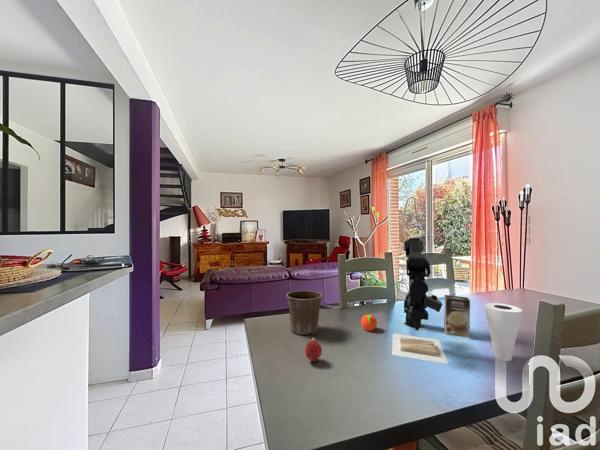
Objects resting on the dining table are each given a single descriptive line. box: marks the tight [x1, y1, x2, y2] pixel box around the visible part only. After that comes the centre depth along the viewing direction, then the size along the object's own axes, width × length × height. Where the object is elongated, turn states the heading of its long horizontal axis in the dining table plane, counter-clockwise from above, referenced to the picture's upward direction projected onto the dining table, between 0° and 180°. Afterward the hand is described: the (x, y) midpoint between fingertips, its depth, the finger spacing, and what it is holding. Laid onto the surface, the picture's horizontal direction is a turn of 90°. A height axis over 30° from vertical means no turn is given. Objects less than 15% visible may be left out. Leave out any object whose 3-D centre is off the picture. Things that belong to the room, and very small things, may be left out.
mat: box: [391, 333, 449, 365], centre depth 101 cm, size 20×18×1 cm
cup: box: [484, 302, 523, 362], centre depth 94 cm, size 11×11×18 cm
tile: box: [400, 337, 437, 356], centre depth 100 cm, size 2×12×9 cm
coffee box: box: [443, 294, 471, 339], centre depth 114 cm, size 9×6×16 cm
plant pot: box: [286, 290, 323, 336], centre depth 119 cm, size 16×16×16 cm
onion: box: [304, 337, 323, 362], centre depth 91 cm, size 6×6×8 cm
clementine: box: [360, 314, 378, 332], centre depth 118 cm, size 8×7×7 cm
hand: (417, 329), depth 101 cm, fingers closed
